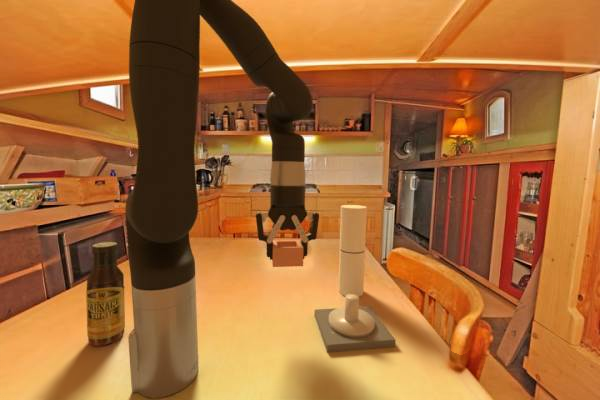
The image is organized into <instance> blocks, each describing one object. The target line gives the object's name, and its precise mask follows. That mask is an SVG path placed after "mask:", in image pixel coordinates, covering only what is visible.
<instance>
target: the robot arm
mask: <svg viewBox="0 0 600 400" xmlns="http://www.w3.org/2000/svg"><path fill="white" fill-rule="evenodd" d="M201 18H202V19H203V20H204V21H205V22H206V23H207V24H208V26H209V27H210V28H211V29H212V30H213V32H215V34H216V35H217V36H218V37H219V39H220V40H221V41H222V42H223V44H224V45H225V47H227V50H228V51H229V52H230V53H231V55H232V56H233V57H234V59H235V61H236V63H238V64H239V65H240V67H241V69H242V70H243V72H244V73H245V74H246V75H247V77H248V78H249V80H250V81H251V83H253V84H254V85H255V86H257V87H264V88H267V89H269V90H270V91H271V92H270V94H269V96H268V97H267V99H266V103H265V104H266V105H265V117H266V122H267V128H268V132H269V135H270V139H271V168H270V178H269V181H270V184H269V186H270V188H269V189H270V190H269V192H270V198H269V199H270V200H269V201H270V203H269V210H268V211H264V212H262V211H257V212H256V213H255V221H256V222H255V223H256V230H257V238H258V240H259V241H262V242H265V243H266V257H267V258H269V260H270V261H272V260H273V240H275V237H276V236H277V234H278V233H279V230H280V231H286V230H287V231H288V230H289V231H296V230H297V232H298V234H299V237H300V239H301V240H300V243H301V245H302V246H303V260H305V257H307V256H308V249H309V247H308V245H309V244H308V243H309V242H310V241H314V240H316V239H317V237H318V236H317V235H318V228H319V227H318V226H319V221H320V220H319V219H320V214H319V213H318V212H317V211H307V209H306V166H305V160H306V159H305V158H306V157H305V154H306V151H305V150H306V149H305V148H306V147H305V146H306V145H305V144H306V143H305V142H306V141H305V138H304V137H303V135H302V134H300V133H296V132H295V128H294V122H297V121H302V120H304V119H306V118H308V117H309V116H310V115H311V113H312V111H313V108H314V104H313V96H312V93H311V91H310V89H309V87H308V86H307V84H306V83H305V82H304V81H303V79H301V78H300V77H299V75H298V74H297V73H296V72H294V70H292V68H291V67H290V66H289V65H288V64H287V63H285V62H284V61H283V60H282V59H281V57H280V56H279V54H278V52H277V51H276V49H275V47H274V46H273V44H272V43H271V41H270V39H269V38H268V36H267V34H266V33H265V31H264V30H263V28H262V27H261V26H260V25H259V23H258V22H257V21H256V19H254V17H252V16H251V15H250V14H249V13H248V12H247V11H246V10H245V9H243V8H242V7H240V6H239V5H238V4H236V3H235V2H234V1H233V0H134V3H133V9H132V16H131V23H130V33H129V34H130V35H129V43H128V48H129V49H128V53H129V55H128V73H129V74H128V81H129V92H130V94H129V95H130V99H131V100H130V101H131V105H132V106H131V107H132V113H133V118H134V122H135V123H134V124H135V129H136V135H137V159H136V161H137V162H136V171H135V179H134V187H133V188H132V189H131V191H130V192H129V194H128V195H127V198H126V201H125V208H124V209H125V225H126V239H127V240H126V242H127V253H128V254H127V255H128V256H127V257H128V263H129V264H128V265H129V272H130V284H131V298H132V301H131V303H132V313H133V314H132V317H133V329H132V330H131V332H130V333H128V338H127V339H128V352H129V367H130V370H129V371H130V385H131V392H132V393H139V394H140V395H142V396H145V397H147V398H153V399H157V398H158V399H159V398H164V397H167V396H168V397H169V396H171V395H173V394H176V393H179V392H180V391H182V390H183V389H185V388H186V387H188V386H189V384H191V383H192V382H193V381H194V380H195V379H196V376H197V374H198V372H199V349H198V348H199V346H198V345H199V342H198V339H199V338H198V315H197V314H198V313H197V311H198V310H197V307H198V306H197V290H196V289H197V283H196V282H197V280H196V279H197V278H196V263H195V262H196V260H195V256H194V254H193V251H192V247H191V243H190V241H191V240H190V232H191V230H192V229H193V227H194V225H195V223H196V221H197V218H198V215H199V199H198V189H197V188H198V187H197V176H196V175H197V174H196V164H195V163H196V162H195V160H196V159H195V142H196V133H197V124H198V123H197V122H198V120H197V119H198V105H199V93H200V91H199V90H200V65H201V62H200V61H201V59H200V58H201V56H200V41H201V40H200V39H201ZM267 218H269V219H270V221H271V222H272V223H273V224H272V226H271V228H270V230H269V233H268V234H265V232H264V223H266V221H267ZM306 218H308V221H309V222H310V224H309V233H307V234H306V232H305V229H304V227H303V226H302V223H303V222H304V220H305V219H306Z"/></svg>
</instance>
